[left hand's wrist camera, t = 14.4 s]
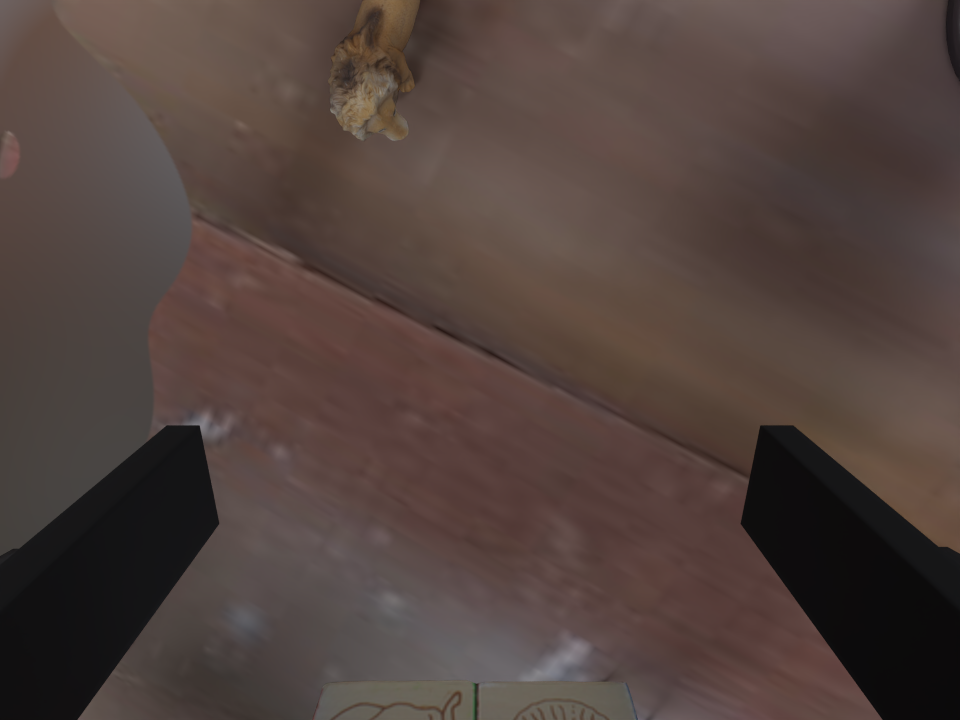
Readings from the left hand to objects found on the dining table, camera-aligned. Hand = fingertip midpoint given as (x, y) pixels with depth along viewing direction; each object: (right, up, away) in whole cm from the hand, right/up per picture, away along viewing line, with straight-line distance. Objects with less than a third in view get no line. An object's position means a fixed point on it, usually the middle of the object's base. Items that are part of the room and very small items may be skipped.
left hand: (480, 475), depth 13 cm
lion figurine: (-5, +24, +23) cm, 33 cm away
